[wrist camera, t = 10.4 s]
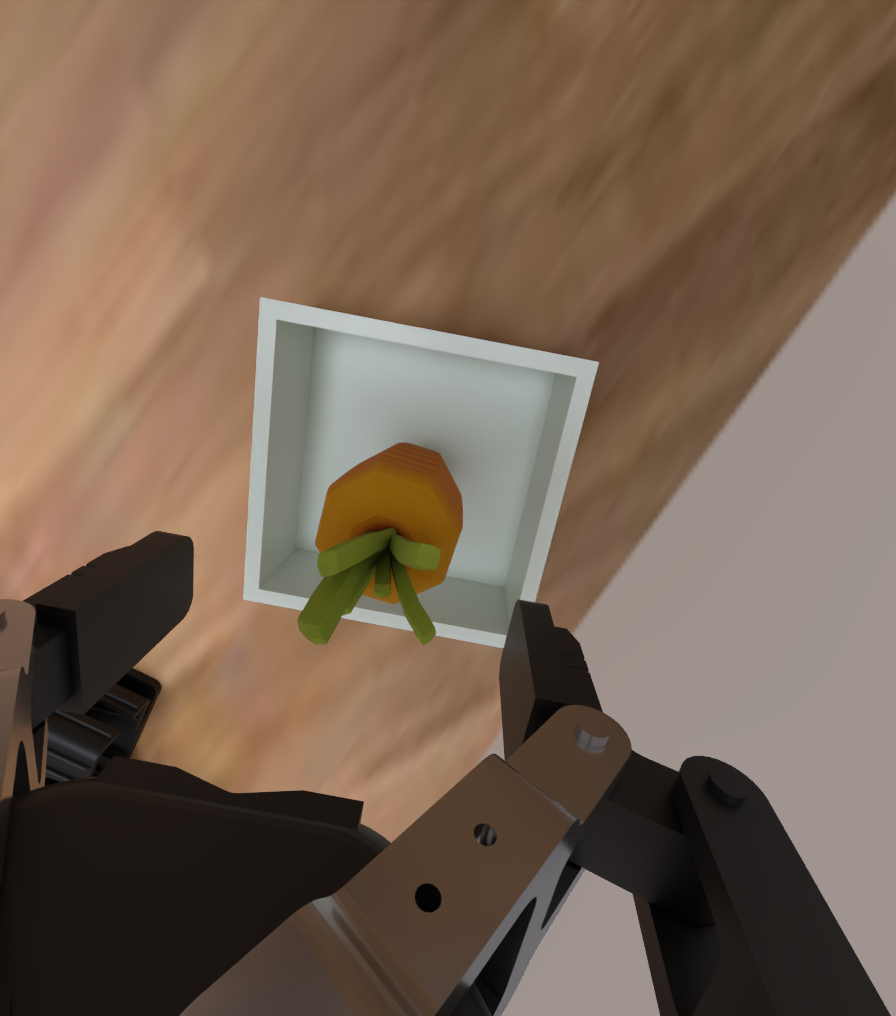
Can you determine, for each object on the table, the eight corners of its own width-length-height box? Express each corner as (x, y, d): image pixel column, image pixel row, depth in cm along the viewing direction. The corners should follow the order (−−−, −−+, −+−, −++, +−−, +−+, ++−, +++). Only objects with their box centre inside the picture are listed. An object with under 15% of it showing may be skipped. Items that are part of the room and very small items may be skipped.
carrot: (464, 413, 25) (446, 501, 11) (472, 507, 27) (464, 690, 12) (368, 421, 26) (230, 515, 11) (381, 513, 27) (272, 697, 13)
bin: (309, 307, 25) (260, 297, 19) (571, 358, 25) (599, 362, 19) (288, 549, 29) (243, 599, 24) (512, 591, 29) (521, 651, 24)
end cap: (64, 627, 32) (-40, 698, 25) (167, 677, 33) (91, 758, 26) (26, 733, 35) (-76, 821, 28) (121, 777, 36) (43, 872, 29)
